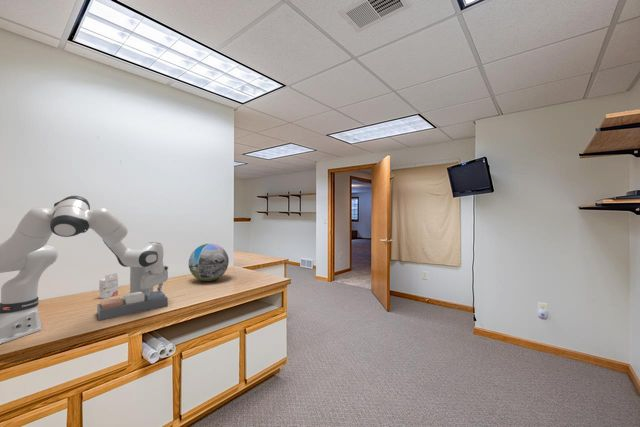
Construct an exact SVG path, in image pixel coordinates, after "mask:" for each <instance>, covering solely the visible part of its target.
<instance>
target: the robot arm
mask: <svg viewBox="0 0 640 427" xmlns="http://www.w3.org/2000/svg"><path fill="white" fill-rule="evenodd" d="M89 229H91V230H92V231H93V232H94V233H96V234H97V235H98V237H100V238H101V239H102V241H103V243H104V244H105V245H106V247H107V248H108V249H109V250H110V252H112V254H113V255H114V256H115V257H116V260H117V262H118V264H119V265H120V266H122V267H124V268H127V267H129V268H130V267H146V273H144V274H143V275H142V277H141V282H140V288H141V289H145V290H146V292H147V296H150V295H151V293H152V292H150V289H151V287H153V288H154V287H156V286H158V287H157V290H156V291H162V289H163V288H162V287H163V285H164V283H165V282H167V281H168V278H169V277H168V276H169V275H168V274H169V271H168V270H169V266H168V265H164V260H163V259H164V246H163V244H162V243H161V242H148V243H147V244H146V245H145V246H144V247H143V248H141V249H134V248H129V247H127V246H126V245H125V244H124V242H123V240H124V239H125V238H126V236H127V235H128V227H127V226H126V224H125V223H124V222H123V221H122V220H121V219H120V218H119V216H117V215H116V214H114V213H113V212H112V211H110V210H109V209H107V208H105V207H96V208H93V209H91V204H90V202H89V201H88V199H86V198H85V197H83V196H79V195H71V196H66V197H64V198H63V199H61V200H60V201H57V202H55V203H54V204H53V207H51V208H49V207H43V206H41V207H40V206H39V207H34V208H31V209H30V210H29V211H27V213H26V214H24V216H23V217H22V218H21V220H20V222H19V223H18V225H17V227H16V229H15V230H14V232H13V234H12V235H11V236H10V237H9V238H8V239H6V240H5V241H3V242H2V243H0V274H3V273H11V272H16V271H18V274H17V275H15V276H14V277H13V278H11V279H9V280H7V281H6V282H4V283H3V284H2V285H1V288H0V345H1V344H5V343H9V342H10V341H14V340H16V339H20V338H22V337H25V336H28V335H30V334H31V335H32V334H33V333H37V332H39V331H41V330H42V327H43V324H42V322H41V320H40V315H39V308H38V306H39V297H38V290H39V289H38V287H39V280H40V279H41V276H42V275H43V274H44V272H45V271H46V269H48V268H49V267H50V266H52V265H53V264H54V263H55V262H56V261H57V259H58V257H59V254H58V250H57V249H56V248H55V246H52V245H49V244H48V245H47V243H48V242H49V240H50V238H51V236H52V235H53V234H54V235H56V236H59V237H62V238H63V237H64V238H69V237H75V236H78V235H80V234H84V233H87V232H88V231H89Z"/></svg>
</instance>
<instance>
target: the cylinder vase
mask: <svg viewBox="0 0 640 427" xmlns="http://www.w3.org/2000/svg"><path fill="white" fill-rule="evenodd" d="M129 268H130V269H129V270H130V272H129V273H130V274H129V277H130V278H129V293H135V292H142V293H143V294H144V296H145V293H147V292H146V290H145V289H141V288H140V282H141V277H142V275H143V274H144V273H146V267H129ZM150 292H154V286H153V287H151V289H150Z"/></svg>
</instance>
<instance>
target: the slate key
mask: <svg viewBox="0 0 640 427" xmlns="http://www.w3.org/2000/svg"><path fill="white" fill-rule="evenodd" d="M164 295H165V293H164V291H162V290H160V291H158V290H155V291H153V292H152V293H151V295H150V296H147V293H145V299H146V300H147V301H148V300H153V299H158V298H163V297H164Z"/></svg>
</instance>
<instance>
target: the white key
mask: <svg viewBox="0 0 640 427" xmlns="http://www.w3.org/2000/svg"><path fill="white" fill-rule="evenodd" d="M123 300H124V303H125V305H127V304H132V303H137V302H142V301H144V294H143V293H142V292H135V293H130V292H129V293H124V294H123Z"/></svg>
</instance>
